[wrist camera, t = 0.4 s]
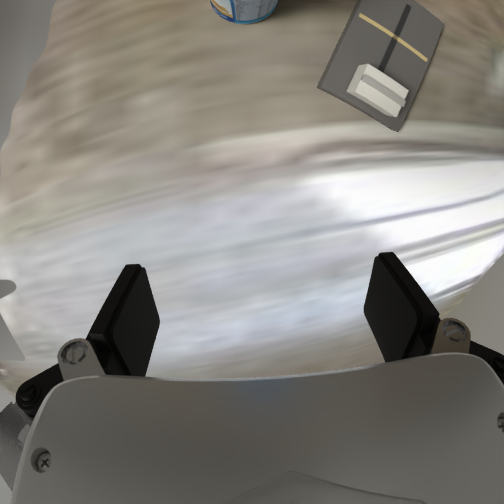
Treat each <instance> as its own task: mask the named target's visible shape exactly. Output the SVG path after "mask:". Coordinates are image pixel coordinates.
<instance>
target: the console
mask: <svg viewBox="0 0 504 504" xmlns="http://www.w3.org/2000/svg"><path fill="white" fill-rule="evenodd" d="M443 25H444V24H443V23H442V22H441V21H440V20H439V19H437V18H436V17H435V16H434V15H432V14H431V13H430V12H429V11H427V10H426V9H425V8H424V7H422V6H421V5H420V4H418V3H417V2H415V1H414V0H358V2H357V4H356V6H355V8H354V10H353V12H352V14H351V16H350V18H349V20H348V22H347V25H346V27H345V29H344V31H343V33H342V35H341V37H340V39H339V41H338V43H337V45H336V48H335V50H334V52H333V54H332V56H331V58H330V60H329V62H328V64H327V66H326V69H325V71H324V73H323V75H322V77H321V79H320V81H319V83H318V86H317V88H319V89H321V90H323V91H325V92H327V93H329V94H331V95H333V96H334V97H336V98H338V99H340V100H342V101H344V102H346V103H348V104H349V105H351V106H353V107H355V108H356V109H358V110H360V111H362V112H363V113H365V114H367V115H368V116H370V117H372V118H373V119H375V120H377V121H378V122H380V123H382V124H383V125H385V126H386V127H388V128H389V129H391V130H393V131H396V132H399V130H400V128H401V126H402V123H403V121H404V119H405V117H406V115H407V113H408V111H409V108H410V106H411V104H412V102H413V100H414V97H415V95H416V93H417V91H418V88H419V86H420V84H421V81H422V79H423V77H424V74H425V72H426V69H427V67H428V65H429V62H430V60H431V57H432V55H433V52H434V49H435V47H436V44H437V42H438V39H439V36H440V34H441V31H442V28H443ZM364 64H370V65H371V66H373V67H374V68H376V69H378V70H379V71H381V72H382V73H384V74H385V75H387V76H388V77H390V78H391V79H393V80H394V81H396V82H397V83H399V84H400V85H402V86H403V87H404V88H406V89H407V90H409V91H408V93H407V95H406V98H405V101H406V102H405V105H404V107H402V106H401V109H400V111H399V113H398V115H397V117H393V116H388V115H385V114H383V113H382V112H380V111H379V110H377V109H375V108H374V107H372V106H370V105H369V104H367V103H365V102H364V101H362V100H360V99H359V98H357V97H355V96H353V95H352V94H350V93H348V92H346V91H347V89H348V87H349V85H350V83H351V81H352V79H353V76H354V74H355V72H356V70H357V68H358V66H359V65H364Z"/></svg>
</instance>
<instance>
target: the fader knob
mask: <svg viewBox="0 0 504 504" xmlns="http://www.w3.org/2000/svg"><path fill="white" fill-rule="evenodd" d="M408 91H409V90H407V89H406V88H404V87H403V86H402V85H400V84H399V83H397V82H396V81H394V80H393V79H391V78H390V77H388V76H387V75H385V74H384V73H382V72H381V71H379V70H378V69H376V68H374V67H373V66H371V65H370V64H364V65H359V66H358V68H357V70H356V72H355V74H354V76H353V79H352V81H351V83H350V85H349V87H348V89H347V91H346V92H348V93H350V94H352V95H353V96H355V97H357V98H359V99H360V100H362V101H364V102H365V103H367V104H369V105H370V106H372V107H374V108H375V109H377V110H379V111H380V112H382V113H383V114H385V115H388V116H393V117H397V115H398V113H399V111H400V109H401V106H402V107H404V105H405V102H406V101H405V98H406V95H407V93H408Z"/></svg>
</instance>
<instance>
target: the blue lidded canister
mask: <svg viewBox="0 0 504 504" xmlns="http://www.w3.org/2000/svg"><path fill="white" fill-rule="evenodd" d="M210 2H211V5H212V7H213V9H214V11H215V12H216V13H217V14H218V15H219V16H220V17H222V18H223V19H225V20H227V21H229V22H233V23H237V24H250V23H255V22H258V21H261V20H263V19H265V18H266V17H268V16H269V15H270V14H271V13H272V12H273V11H274V9H275V8H276V5H277V3H278V0H210Z"/></svg>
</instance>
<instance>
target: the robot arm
mask: <svg viewBox="0 0 504 504" xmlns="http://www.w3.org/2000/svg"><path fill="white" fill-rule="evenodd" d="M364 314H365V317H366V319H367V321H368V323H369V325H370V328H371V330H372V332H373V334H374V337H375V339H376V341H377V343H378V346H379V348H380V350H381V353H382V355H383V357H384V360H385V362H386V363H380V364H374V365H368V366H362V367H356V368H349V369H342V370H334V371H326V372H317V373H308V374H297V375H286V376H271V377H253V378H216V379H198V378H162V377H145V375H146V372H147V368H148V364H149V360H150V357H151V353H152V350H153V346H154V342H155V339H156V335H157V332H158V329H159V325H160V319H159V315H158V311H157V308H156V305H155V301H154V298H153V295H152V291H151V288H150V284H149V280H148V277H147V273H146V270H145V268H144V267H141V265H140V264H128V265H126V266H125V267H124V269H123V270H122V272H121V274H120V276H119V277H118V279H117V281H116V283H115V284H114V286H113V288H112V290H111V291H110V293H109V295H108V297H107V299H106V301H105V302H104V304H103V306H102V308H101V310H100V312H99V314H98V316H97V318H96V319H95V321H94V323H93V325H92V327H91V329H90V331H89V333H88V335H87V337H86V340H85V339H82V338H77V339H73V340H70V341H68V342H67V343H65V344H64V345H63V346H62V347H61V348H60V350H59V352H58V355H57V358H58V364H56V365H54V366H52V367H51V368H49V369H47V370H45V371H43V372H42V373H40V374H38V375H36V376H34V377H33V378H31V379H29V380H27V381H26V382H24V383H23V384H22V385H21V386H20V387H19V388H18V390H17V393H16V403H15V404H13V403H12V402H11V403H10V404H9V405H7V406H6V408H4V409H3V410H2V412H0V474H1V475H2V477H3V478H4V480H5V481H6V483H7V484H8V486H9V487H10V489H11V490H12V498H11V504H504V355H502V354H500V353H498V352H496V351H493V350H491V349H489V348H487V347H484V346H482V345H480V344H477V343H475V342H473V341H471V340H470V338H471V335H470V331H469V329H468V327H467V326H466V325H465V324H464V323H463V322H461V321H459V320H457V319H454V318H446V319H443V320H442V321H441V320H440V318H439V317H438V316H439V312H438V311H437V310H436V308H435V307H434V305H433V304H432V302H431V301H430V300H429V298H428V297H427V295H426V294H425V293H424V291H423V290H422V289H421V287H420V286H419V285H418V283H417V282H416V281H415V279H414V278H413V277H412V275H411V274H410V273H409V271H408V270H407V269H406V268H405V266H404V265H403V264H402V262H401V261H400V260H399V259H398V257H397V256H396V255H395V254H394V253H393V252H383V253H379V255H378V256H376V257H375V259H374V264H373V269H372V274H371V278H370V283H369V287H368V292H367V296H366V300H365V304H364Z"/></svg>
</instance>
